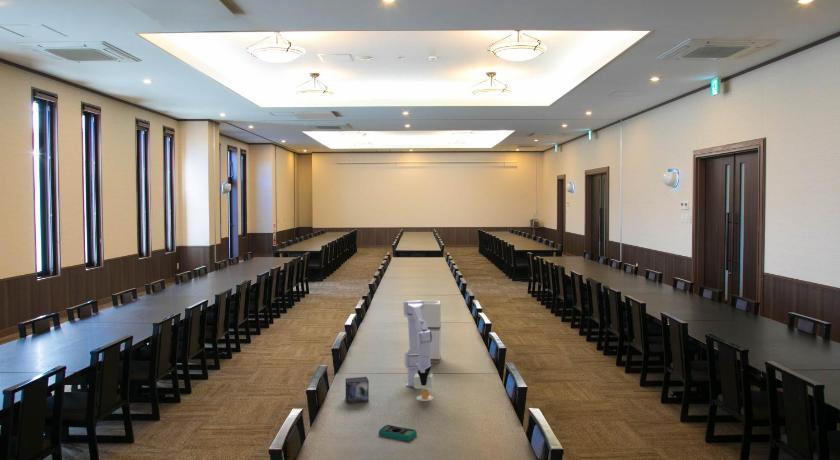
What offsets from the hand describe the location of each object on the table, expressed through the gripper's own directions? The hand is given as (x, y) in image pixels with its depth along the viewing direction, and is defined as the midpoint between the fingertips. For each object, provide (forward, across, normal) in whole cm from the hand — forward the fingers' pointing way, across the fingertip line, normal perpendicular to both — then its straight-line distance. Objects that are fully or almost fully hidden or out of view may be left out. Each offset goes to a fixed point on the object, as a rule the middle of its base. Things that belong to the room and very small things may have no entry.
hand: (424, 383), depth 277 cm
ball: (+6, 0, 0) cm, 6 cm away
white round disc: (+8, 0, 0) cm, 8 cm away
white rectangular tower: (+8, -66, -5) cm, 67 cm away
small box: (+8, +7, -32) cm, 34 cm away
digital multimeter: (+8, +44, -5) cm, 45 cm away
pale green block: (+2, 0, 0) cm, 2 cm away
